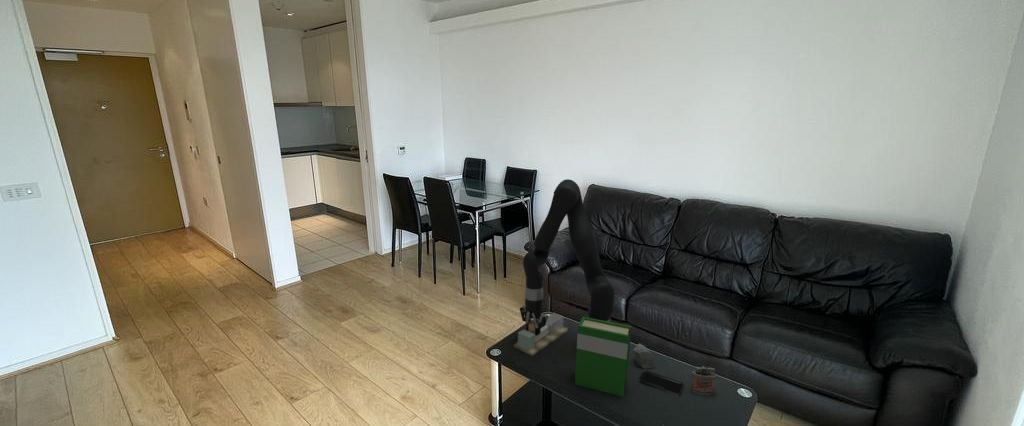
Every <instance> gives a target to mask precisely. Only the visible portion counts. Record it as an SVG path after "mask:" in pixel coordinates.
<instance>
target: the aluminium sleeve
mask: <svg viewBox="0 0 1024 426" xmlns="http://www.w3.org/2000/svg"><path fill="white" fill-rule="evenodd" d="M564 321H565V316H563V315H561V314H558V313H555V312H553V313H552V314H550V315H548V319H547V321H546V324H547V325H549V326H550V333H548V335H550V336H551V335H553V334H554V333H556V332H557V331H559V330H560V329H562V328H563V327H565V326H564V323H565V322H564Z"/></svg>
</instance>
